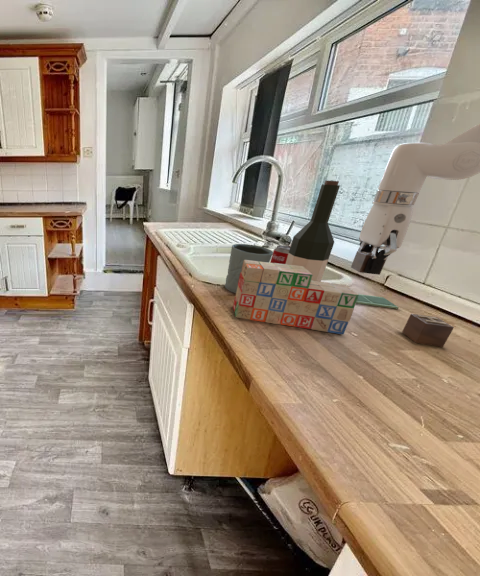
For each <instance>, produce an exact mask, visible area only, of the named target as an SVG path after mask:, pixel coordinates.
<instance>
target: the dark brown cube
mask: <svg viewBox="0 0 480 576" xmlns="http://www.w3.org/2000/svg"><path fill="white" fill-rule="evenodd" d="M372 253H373V252H372ZM372 253H371V252H362V251H358V250H357V251H356V252H355V256H354V258H353V259H352V262H351V266H350V268H351V269H352V270H354V271H356V272H358V273H363V274H365V273H364V269H365V266H366V264H367V261H368V259H369V258H372ZM386 262H387V259H386V260H385V261H384V263H383V265H382V268H381V270H380V272H379V274H377V276H378V275H379V276H380V275H381V274H382V271H383V268H384V267H385V264H386Z"/></svg>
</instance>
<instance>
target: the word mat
mask: <svg viewBox="0 0 480 576" xmlns="http://www.w3.org/2000/svg"><path fill="white" fill-rule="evenodd" d="M357 294H358V295H359V296H358V299H357V302H356V304H359V305H364V306H365V305H366V306H373V307H380V308H388V309H395V310H399V306H398V305H396V304H394V303H393V302H391V301H390V300H388V299H387V298H385V297H384V296H377V295H368V294H362V293H357Z"/></svg>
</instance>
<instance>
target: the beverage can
mask: <svg viewBox="0 0 480 576" xmlns="http://www.w3.org/2000/svg"><path fill="white" fill-rule="evenodd" d="M290 247H291V245H290V246H289V245H277V246H276V247H275V248H274V249H273V251H272V252H273V254H272V257H271V259H270V262H269V263H279V264H286V260H287V257H288V254H289V250H290Z"/></svg>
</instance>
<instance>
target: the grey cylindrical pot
mask: <svg viewBox="0 0 480 576" xmlns="http://www.w3.org/2000/svg"><path fill="white" fill-rule="evenodd" d="M272 254H273V251H272V250H271V249H269V248H267V247H264V246H261V245H260V246H259V245H254V244H248V243H235V244H232V245H231V249H230V256H229V261H228V263H229V264H228V267H227V275H226V278H225V283H224V288H225V289H226V290H228V291H229V292H231V293H234V294H236V292H237V287H238V281H239V277H240V273H241V271H242V267H243V262H244V260H251V261H258V262H268V263H270V262H271V258H272Z"/></svg>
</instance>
